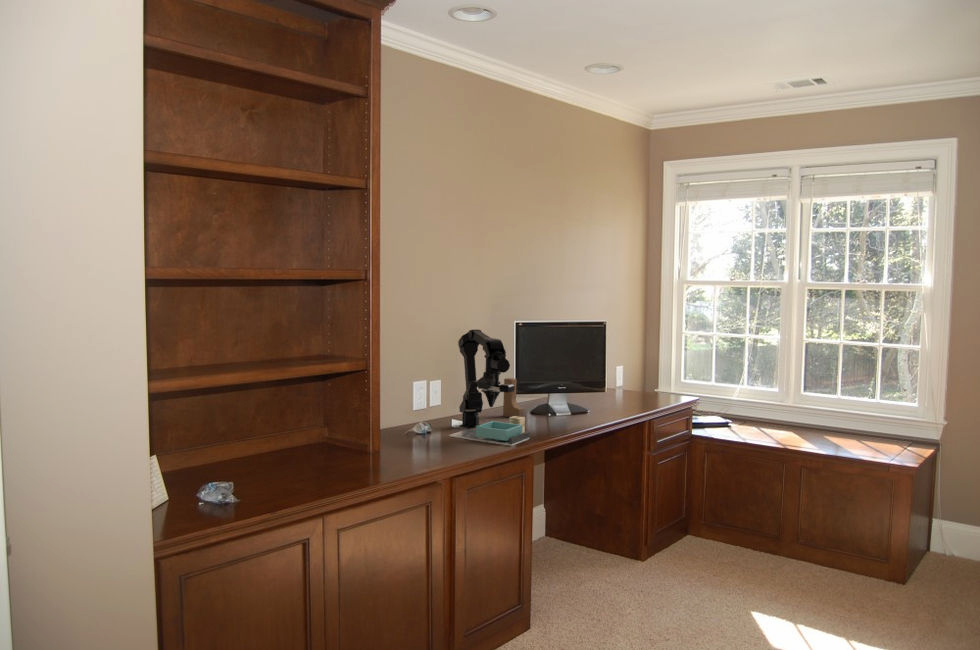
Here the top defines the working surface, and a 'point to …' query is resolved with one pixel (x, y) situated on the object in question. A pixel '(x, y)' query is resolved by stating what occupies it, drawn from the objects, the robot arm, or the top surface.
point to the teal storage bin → (498, 430)
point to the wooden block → (511, 401)
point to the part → (518, 421)
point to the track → (471, 435)
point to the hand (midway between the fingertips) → (491, 407)
